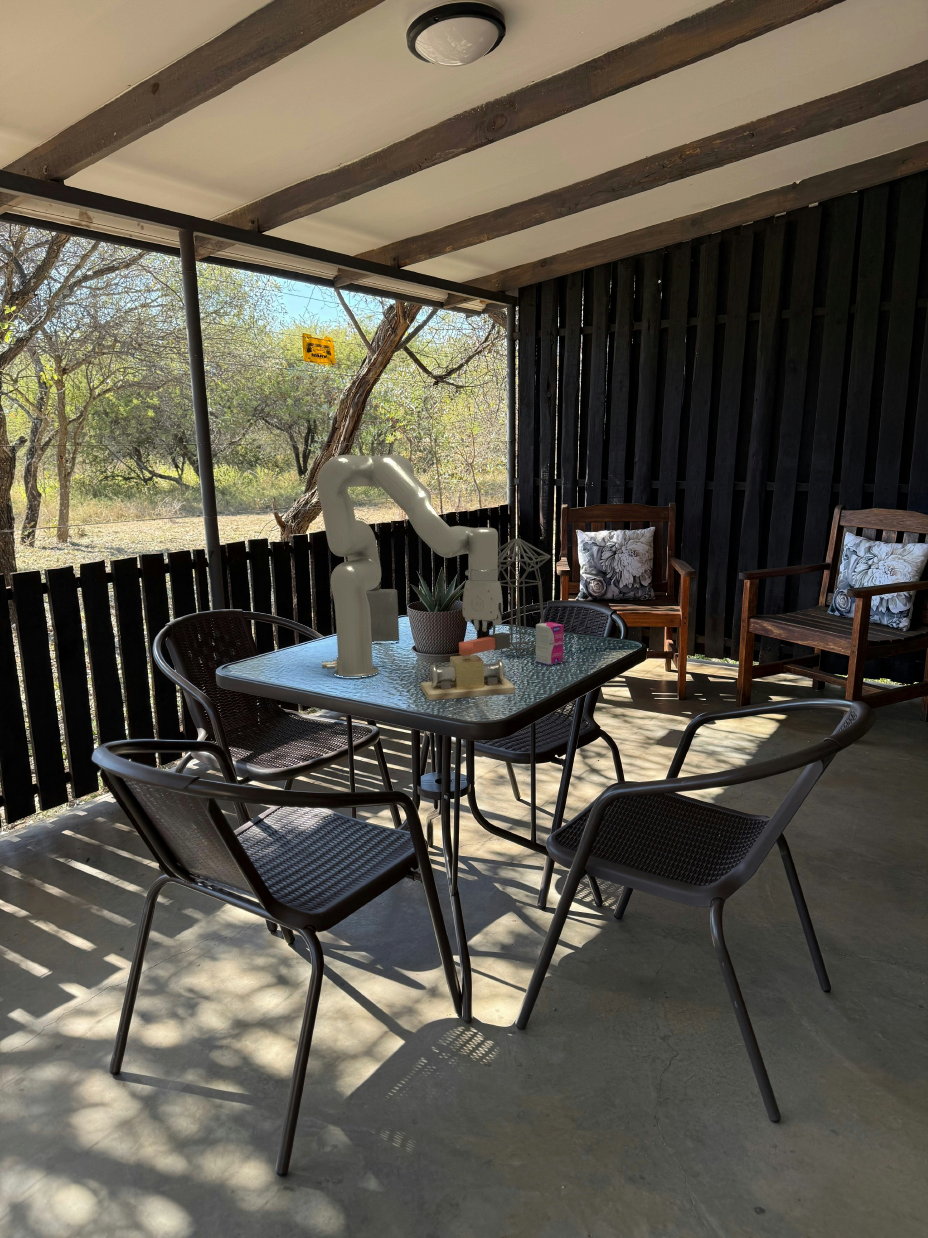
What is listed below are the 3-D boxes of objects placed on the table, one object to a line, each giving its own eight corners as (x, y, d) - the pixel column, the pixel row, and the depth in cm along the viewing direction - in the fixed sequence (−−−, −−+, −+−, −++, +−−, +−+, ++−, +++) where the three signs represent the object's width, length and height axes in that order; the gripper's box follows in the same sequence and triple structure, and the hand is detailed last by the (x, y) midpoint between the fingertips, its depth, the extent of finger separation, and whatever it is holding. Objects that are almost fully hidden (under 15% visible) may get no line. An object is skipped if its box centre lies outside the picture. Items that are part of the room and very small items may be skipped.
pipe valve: (435, 694, 198) (434, 664, 197) (429, 687, 206) (428, 658, 204) (505, 688, 202) (504, 659, 201) (497, 681, 209) (497, 653, 208)
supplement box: (548, 666, 227) (548, 626, 225) (535, 663, 232) (534, 624, 230) (564, 663, 230) (563, 624, 228) (550, 659, 235) (549, 621, 233)
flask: (399, 640, 270) (396, 581, 266) (399, 643, 264) (396, 583, 261) (354, 642, 268) (351, 583, 265) (353, 645, 263) (350, 585, 259)
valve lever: (465, 659, 200) (465, 643, 199) (456, 657, 203) (455, 641, 202) (511, 649, 210) (510, 633, 209) (501, 647, 213) (501, 632, 212)
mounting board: (428, 700, 196) (428, 694, 196) (420, 688, 208) (420, 682, 207) (515, 693, 200) (515, 687, 200) (503, 681, 212) (503, 676, 212)
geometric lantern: (521, 645, 255) (519, 535, 249) (555, 653, 243) (554, 537, 237) (482, 653, 246) (479, 539, 240) (515, 662, 234) (513, 541, 227)
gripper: (451, 575, 209) (451, 644, 212) (500, 579, 201) (500, 651, 204) (467, 572, 215) (467, 639, 218) (515, 576, 207) (514, 645, 210)
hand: (483, 644), depth 211 cm, fingers closed
